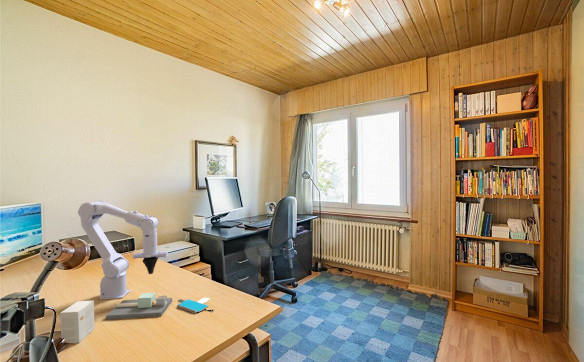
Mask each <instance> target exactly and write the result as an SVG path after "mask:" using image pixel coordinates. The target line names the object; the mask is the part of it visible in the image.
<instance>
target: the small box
mask: <svg viewBox="0 0 584 362" xmlns="http://www.w3.org/2000/svg"><path fill="white" fill-rule="evenodd" d="M59 317H60V318H59V319H60V339H61V338H64V339H65V341H66V342H67V343H73V344H80V343H81V342H82V341H83V340H85V338H87V337H88V336H89V335H90V334H91V333H92V332H93V331H94V330H95V328H96V327H95V326H96V324H95V300H77V301H75V302H74V303H72V304H71V305H70V306H69V307H67V308H65V309H64V310H63V311H61V312H60V314H59Z"/></svg>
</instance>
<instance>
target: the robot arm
mask: <svg viewBox="0 0 584 362" xmlns="http://www.w3.org/2000/svg"><path fill="white" fill-rule="evenodd" d="M77 214H78V216H79V218H80V225H81V228H82V229H83V230H84V232H85V234H86V235H87V237H88V238H89V240H90V242H91V243H92V245H93V246H94V248H95V249H96V251H97V253H98V254H99V257H101V259H102V263H101V268H102V273H103V275H104V276H103V277H102V278H101V279H100V283H99V284H100V285H99V288H100V290H99V291H100V293H99V294H100V297H99V300H109V299H111V300H114V299H123V298H124V297H125V296H126V295H127V294H128V293H130V292H131V290H132V289H128V288H127V286H128V285H127V284H128V283H127V270H129V269H128V268H129V267H130V263H129V260H128V259H127V258H125V257H124V256H123V255H122V254H121V253H118V252H117V251H116V250H115V248H114V247H113V245H112V243H111V242H110V241H109V239H108V237H107V235H106V234H105V233H104V231H103V229H102V228H101V227H100V224H99V222H100V219H102V216H104V215H105V214H108V215H111V216H114V217H117V218H121V219H123V220H125V223H127V224H129V225H132V226H135V227H138V228H140V230H141V231H142V248H143V249H142V250H143V252H135V253H133V254H132V260H133V259H134V260H136V259H142V263H143V264H144V266H145V268H146V270H147V273H148V275H153V274H154V271H155V267H156V264H157V262H158V259H159V258H168V257H169V252H167V251H158V227H159V224H160V221H159V219H158V218H157V217H155V216H154V215H153V216H152V215H151V216H149V215H148V214H143V213H139V211H138V210H131V211H126V210H125V209H122V208H120V207H117V206H115V205H114V204H110V203H109V202H107V201H103V200H96V201H91V202H83V203H82V204H81V205H80V206H79V207H78V210H77Z"/></svg>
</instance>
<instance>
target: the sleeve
mask: <svg viewBox="0 0 584 362" xmlns="http://www.w3.org/2000/svg"><path fill="white" fill-rule="evenodd" d="M155 299H157V297H156V292H143V293H141V294H140V295H139V296H138V297H137V300H138V308H147V307H152V302H153V301H156V300H155Z"/></svg>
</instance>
